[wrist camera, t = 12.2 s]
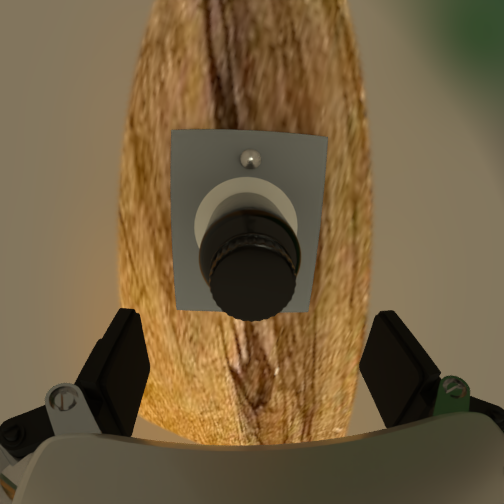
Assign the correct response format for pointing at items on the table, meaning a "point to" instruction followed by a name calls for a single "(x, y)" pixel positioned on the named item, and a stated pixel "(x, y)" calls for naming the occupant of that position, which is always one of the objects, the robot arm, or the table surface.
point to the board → (238, 181)
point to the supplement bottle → (249, 257)
